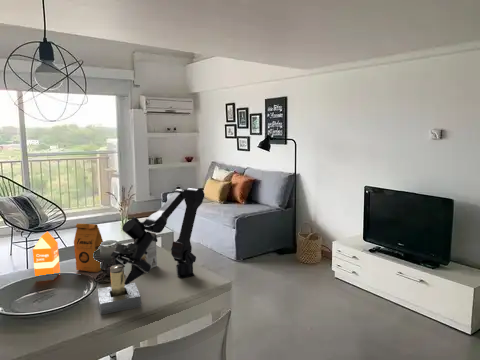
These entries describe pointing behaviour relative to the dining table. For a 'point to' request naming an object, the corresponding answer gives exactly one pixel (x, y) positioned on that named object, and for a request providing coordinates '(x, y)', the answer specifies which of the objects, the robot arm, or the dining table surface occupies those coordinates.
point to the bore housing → (118, 299)
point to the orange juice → (46, 256)
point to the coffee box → (151, 254)
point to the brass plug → (117, 280)
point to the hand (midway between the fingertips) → (117, 281)
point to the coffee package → (87, 247)
